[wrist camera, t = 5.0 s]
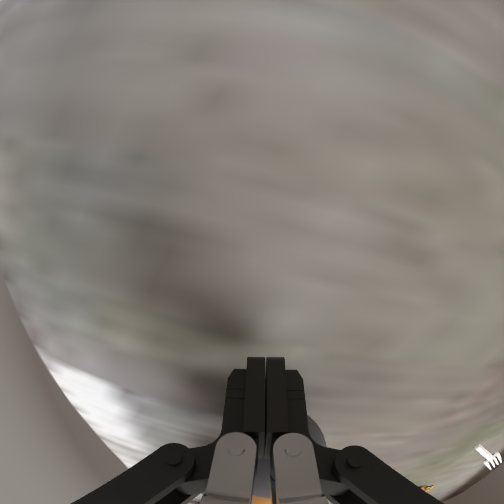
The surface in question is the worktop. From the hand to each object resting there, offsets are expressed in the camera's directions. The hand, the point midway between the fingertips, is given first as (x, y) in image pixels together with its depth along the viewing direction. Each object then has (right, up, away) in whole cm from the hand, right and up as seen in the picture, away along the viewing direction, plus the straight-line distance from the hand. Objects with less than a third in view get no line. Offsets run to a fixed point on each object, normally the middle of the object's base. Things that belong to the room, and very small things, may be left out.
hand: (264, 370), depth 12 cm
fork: (+33, -24, +13) cm, 42 cm away
